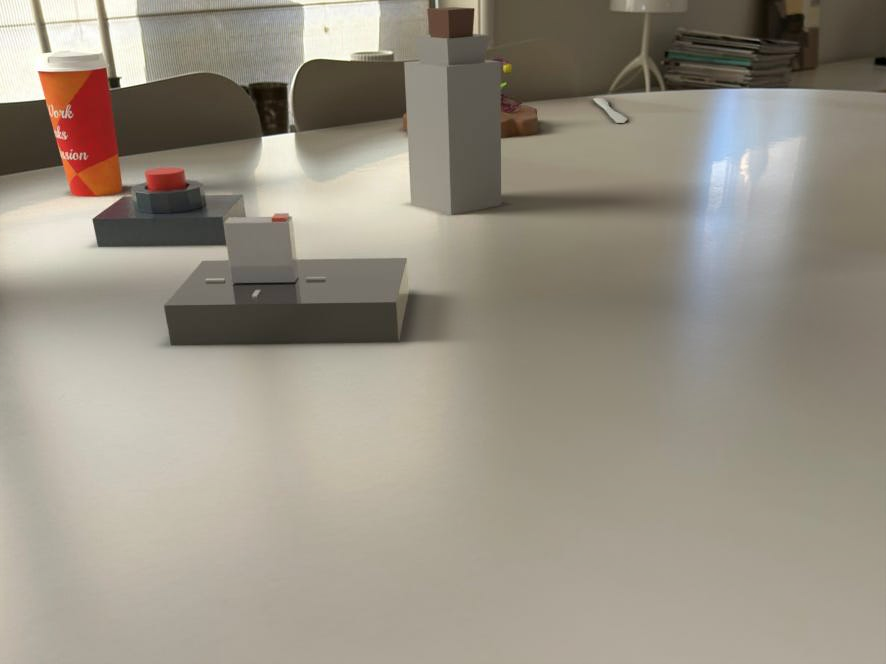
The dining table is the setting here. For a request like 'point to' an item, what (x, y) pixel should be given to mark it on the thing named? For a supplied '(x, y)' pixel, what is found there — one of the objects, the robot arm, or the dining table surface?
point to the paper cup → (82, 119)
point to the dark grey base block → (292, 305)
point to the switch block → (167, 217)
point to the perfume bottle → (453, 116)
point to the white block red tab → (261, 249)
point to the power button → (165, 179)
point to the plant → (510, 113)
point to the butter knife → (610, 110)
